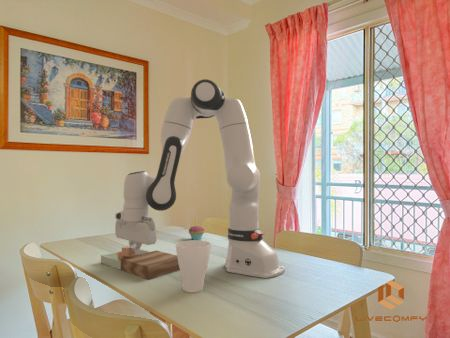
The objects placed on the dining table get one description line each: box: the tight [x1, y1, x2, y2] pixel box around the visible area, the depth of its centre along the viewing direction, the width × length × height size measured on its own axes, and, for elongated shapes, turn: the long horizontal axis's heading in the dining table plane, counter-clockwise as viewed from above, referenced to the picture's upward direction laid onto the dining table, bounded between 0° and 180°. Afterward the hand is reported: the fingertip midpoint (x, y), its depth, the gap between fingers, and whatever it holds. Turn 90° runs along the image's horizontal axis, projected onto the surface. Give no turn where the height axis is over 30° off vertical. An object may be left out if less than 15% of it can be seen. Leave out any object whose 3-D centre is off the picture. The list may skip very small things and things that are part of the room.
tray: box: [100, 248, 151, 271], centre depth 123 cm, size 13×16×3 cm
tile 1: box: [117, 251, 130, 261], centre depth 120 cm, size 4×4×3 cm
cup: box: [175, 239, 212, 294], centre depth 95 cm, size 10×10×14 cm
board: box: [120, 250, 180, 280], centre depth 114 cm, size 16×16×4 cm
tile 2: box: [121, 245, 138, 257], centre depth 118 cm, size 4×4×3 cm
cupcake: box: [188, 217, 206, 241], centre depth 167 cm, size 9×8×12 cm
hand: (135, 253), depth 116 cm, fingers closed
